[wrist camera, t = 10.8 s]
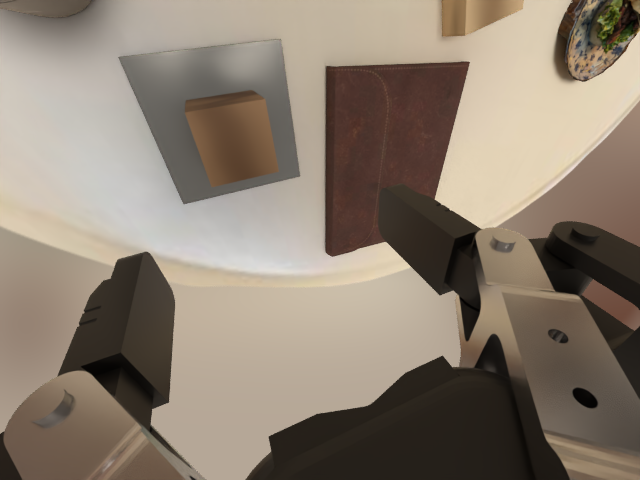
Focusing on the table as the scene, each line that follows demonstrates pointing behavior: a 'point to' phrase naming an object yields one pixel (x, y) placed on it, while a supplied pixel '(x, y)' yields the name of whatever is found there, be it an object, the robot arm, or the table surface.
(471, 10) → the oak block
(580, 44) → the burger
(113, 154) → the table surface
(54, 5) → the supplement bottle
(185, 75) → the coaster
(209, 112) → the walnut block
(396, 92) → the notebook
